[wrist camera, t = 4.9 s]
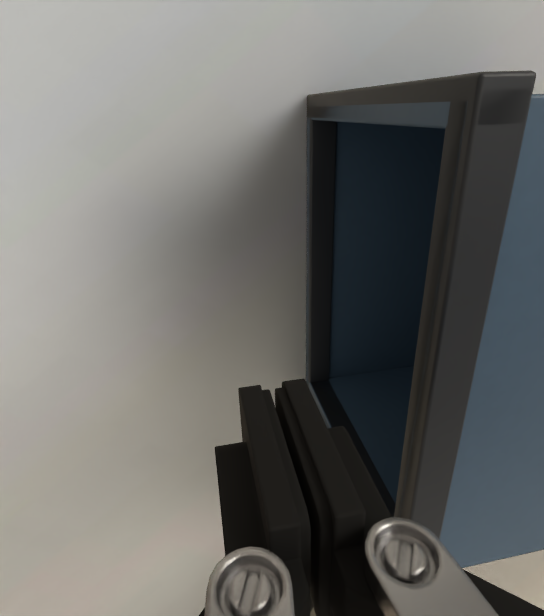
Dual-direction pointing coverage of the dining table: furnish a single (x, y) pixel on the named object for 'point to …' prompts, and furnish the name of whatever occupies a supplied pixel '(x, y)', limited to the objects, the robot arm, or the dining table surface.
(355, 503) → the robot arm
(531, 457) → the blue storage bin
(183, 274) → the dining table surface
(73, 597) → the dining table surface
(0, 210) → the dining table surface
